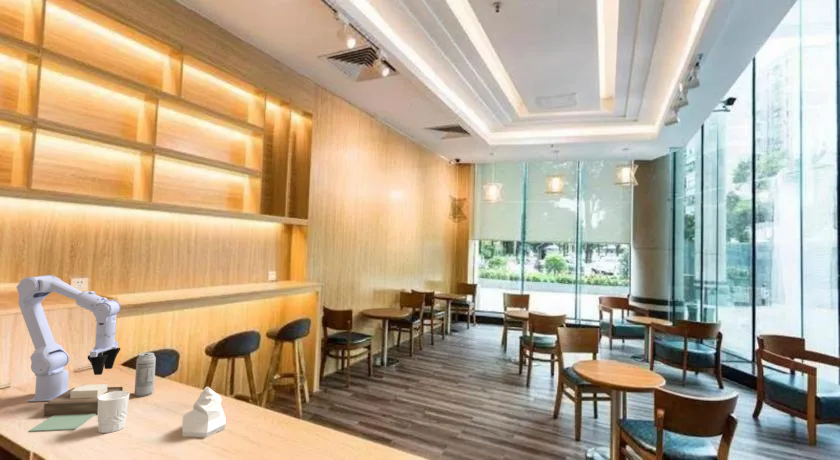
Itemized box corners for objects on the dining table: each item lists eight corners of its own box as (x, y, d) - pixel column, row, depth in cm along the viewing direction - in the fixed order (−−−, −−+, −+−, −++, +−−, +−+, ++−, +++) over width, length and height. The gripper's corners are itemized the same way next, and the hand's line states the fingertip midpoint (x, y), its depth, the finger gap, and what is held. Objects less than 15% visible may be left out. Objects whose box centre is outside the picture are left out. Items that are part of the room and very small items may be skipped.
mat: (53, 416, 130) (53, 415, 130) (95, 414, 133) (95, 413, 133) (28, 432, 120) (28, 430, 120) (74, 429, 122) (74, 428, 122)
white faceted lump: (239, 427, 131) (245, 388, 128) (193, 451, 118) (199, 408, 115) (216, 408, 137) (222, 371, 134) (170, 429, 124) (176, 388, 122)
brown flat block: (71, 399, 144) (72, 388, 144) (122, 397, 147) (122, 386, 147) (43, 416, 130) (44, 404, 130) (99, 414, 133) (100, 402, 133)
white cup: (92, 436, 119) (94, 402, 119) (99, 425, 126) (101, 392, 126) (125, 431, 122) (127, 398, 123) (129, 420, 129) (131, 389, 130)
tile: (81, 391, 141) (81, 384, 141) (107, 391, 143) (107, 384, 143) (70, 398, 135) (70, 391, 135) (97, 397, 137) (97, 390, 137)
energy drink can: (155, 390, 155) (157, 351, 155) (151, 396, 149) (153, 355, 150) (137, 392, 153) (139, 352, 153) (132, 398, 147) (134, 356, 148)
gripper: (106, 338, 141) (104, 377, 140) (128, 329, 155) (126, 365, 155) (83, 339, 139) (81, 378, 139) (107, 329, 154) (105, 365, 153)
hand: (103, 371), depth 147 cm, fingers open, 6 cm apart
